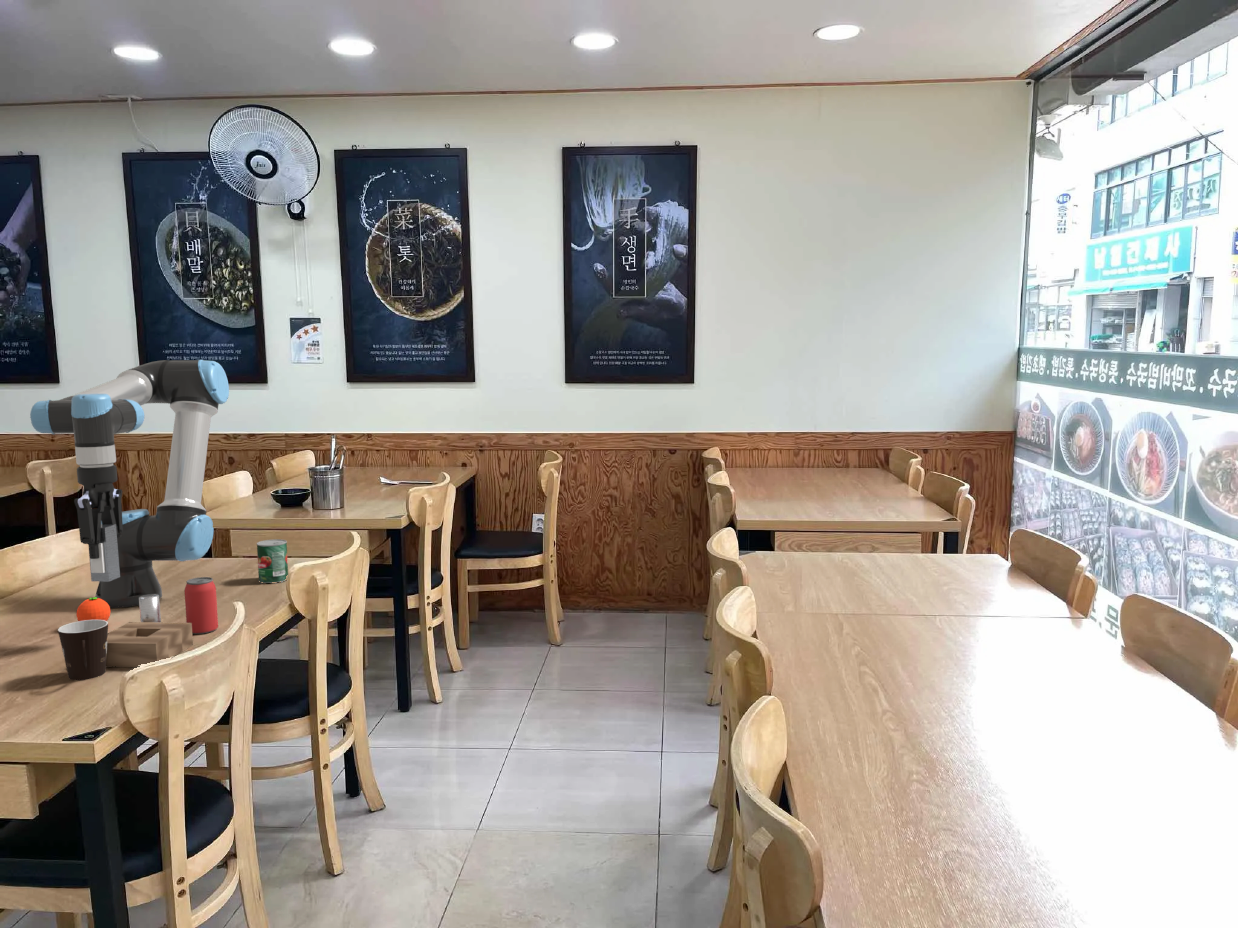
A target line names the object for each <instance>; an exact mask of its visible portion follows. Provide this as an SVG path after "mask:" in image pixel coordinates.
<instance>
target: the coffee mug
mask: <svg viewBox="0 0 1238 928" xmlns="http://www.w3.org/2000/svg"><path fill="white" fill-rule="evenodd" d="M57 631H58V632H57V633H58V636H59V641H60V645H61V649H62V655H63V658H64V663H65V667H66V672H67V677H68V679H69V680H70V681H71V680H72V681H86V680H92V679H95V678H98V676H99V677H102V676H103V675H104V674H105V673H106V672H107V671H106V670H107V667H106V655H107V637H108V633H109V622H108V620H107V621H105V620H84V621H78V620H77V621H73V622H70V623H67V624H66V623H65V624H64V625H61V626H59V628H58V629H57Z"/></svg>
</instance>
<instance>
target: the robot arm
mask: <svg viewBox="0 0 1238 928" xmlns="http://www.w3.org/2000/svg"><path fill="white" fill-rule="evenodd" d="M229 396H230V387H229V381H228V377H227V374H226V371H225V370H224V368H223V366H222V365H221V364H220V363H219V362H216V361H215V360H203V359H199V360H198V359H197V360H196V359H195V360H194V359H193V360H187V359H186V360H184V359H183V360H182V359H181V360H179V359H178V360H169V359H168V360H167V359H166V360H164V359H163V360H157V361H151V362H148V363H144V364H140V365H138V366H135V367H132V368H129V369H127V370H124V371H122V372H120V373H119V374H118V375H117V376H116V378H114V379H112V380H109V381H106V382H104V383H102V384H99V385H96V386H93V387H90V388H88V389H86V390H82V391H80V392H78V393H75V394H72V395H70V396H67V397H64V398H61V399H56V400H51V399H48V400H40V401H37V402H35V403H34V404H33V405H32V407H31V410H30V417H29V418H30V423H31V426H32V427H33V429H34V430H35V431H36V432H38V433H40V434H51V435H56V434H57V435H58V434H65V435H66V434H73V439H74V448H75V461H76V462H75V463H76V464H77V468H76V477H77V483H78V484H80V485H82V486H83V490H82V496H81V497H80V498H74V500H73V502H74V505H75V508H76V513H77V521H78V531H79V539H80V543H81V544H83V545H87V546H88V545H89V546H88V556H90V558H89V563H90V562H91V570H90V574H91V573H104V572H105V560H104V548H103V543H100V536H101V524H116V532H117V544H118V557H119V569H120V577H119V578H116V579H114V580H112V581H109V582H101V581H98V585H97V589H96V593H95V597H97V598H100V599H102V600H104V601H105V602H107V603H108V605H109V607H110V609H111V608H113V609H115V608H117V609H118V608H127V607H128V608H130V607H135V606H139V597H140V596H143V595H148V594H158V595H159V600H160V599H161V598H162V597H163V591H162V590H163V589H162V586H161V584H160V581H159V579H158V577H157V575H156V573H155V570H154V568H153V561H154V562H155V561H156V562H157V561H158V562H159V561H160V562H161V561H162V562H165V561H169V562H170V561H174V562H175V561H176V562H177V561H179V562H186V561H196V560H200V559H201V558H203V557H204V556H205V555H206V553H208V551H209V549H210V547H211V544H212V543H213V539H214V529H215V528H214V527H213V526H214V523H213V519H212V518H211V517H210V516H209V515H207V509H206V508H205V507H204V506H203V504H202V498H203V497H202V496H203V489H204V488H203V487H204V478H205V470H206V463H207V452H208V443H209V434H210V427H211V418H212V417H213V416H215V415H216V414H218V411H219V405H223V404H225V403H226V402H227V401H228V400H229V399H228V398H229ZM146 404H168V405H169V407H170V409H171V410H172V411H173V413H174V414H175V415H174V422H173V423H174V424H173V431H172V438H171V447H170V455H169V462H168V470H167V477H166V478H167V479H166V487H165V493H164V500H163V502H161V503H160V504H159V505H157V506H156V512H155V515H150V511H149V510H148V509H147V508H140V509H139V508H137V509H132V510H131V509H130V510H126V511H123V509H122V497H123V490H122V489H118V488H117V489H116V488H115V486H114V484H113V483H116V482H117V481H118V471H117V470H118V469H117V467H118V466H116V464H115V463H116V462H117V455H116V444H115V435H117V434H125V433H126V434H127V433H128V434H129V433H131V432H134V431H136V430H137V429H139V428H140V427H142V426H143V423H144V421H145V412H144V409H143V407H142V406H144V405H146Z"/></svg>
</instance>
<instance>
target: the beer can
mask: <svg viewBox="0 0 1238 928" xmlns="http://www.w3.org/2000/svg"><path fill="white" fill-rule="evenodd" d="M185 582H186V583H185V587H184V603H185V605H184V606H185V617H186V619H185V620H186V622H185V623H192V635H205V634H209V633H212V632H214V631H216V630H217V629H218V628H219V617H218V615H219V614H218V599H217V587H216V585H215V583H214V578H212V577H210V576H202V577H193V578H190V579H187V581H185Z"/></svg>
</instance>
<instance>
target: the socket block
mask: <svg viewBox="0 0 1238 928" xmlns="http://www.w3.org/2000/svg"><path fill="white" fill-rule="evenodd" d="M193 639H194V638H193V634H192V623H186V622H164V621H163V622H162V621H161V622H141V621H129V622H127V623H125V624H123V625H121V626H119V627H117V628H116V629H113V630H112V631H108V637H107V655H106V668H110V667H112V666H113V667H115V666H116V667H115V668H117V667H119V668H120V667H121V668H138V667H137V666H138V665H141V664H147V663H150V662H155V661H159V660H161V659H166V658H170V657H171V656H175V655H176V656H177V655H179V654H181V653H182V652H184V651H186V650H187V649H189V648H191V647H192V646H193V645H194V640H193ZM176 656H175V657H176ZM107 666H108V667H107ZM113 667H112V668H113Z"/></svg>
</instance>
